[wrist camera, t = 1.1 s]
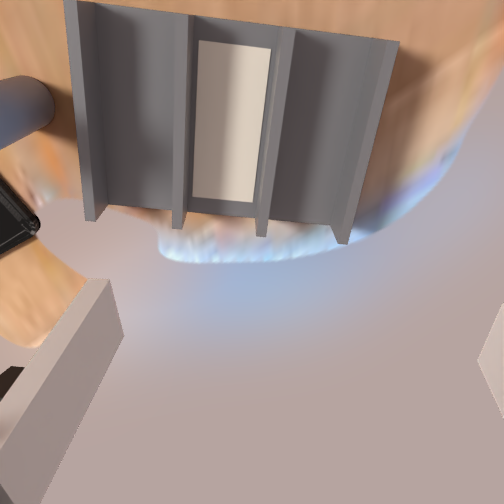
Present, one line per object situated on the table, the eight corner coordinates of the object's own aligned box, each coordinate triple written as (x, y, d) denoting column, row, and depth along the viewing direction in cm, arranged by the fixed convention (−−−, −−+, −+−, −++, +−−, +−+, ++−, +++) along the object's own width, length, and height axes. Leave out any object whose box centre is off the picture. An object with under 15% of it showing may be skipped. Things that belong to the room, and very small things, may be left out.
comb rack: (84, 1, 29) (56, -3, 25) (382, 39, 31) (405, 42, 26) (99, 196, 36) (80, 220, 32) (339, 219, 38) (352, 245, 34)
